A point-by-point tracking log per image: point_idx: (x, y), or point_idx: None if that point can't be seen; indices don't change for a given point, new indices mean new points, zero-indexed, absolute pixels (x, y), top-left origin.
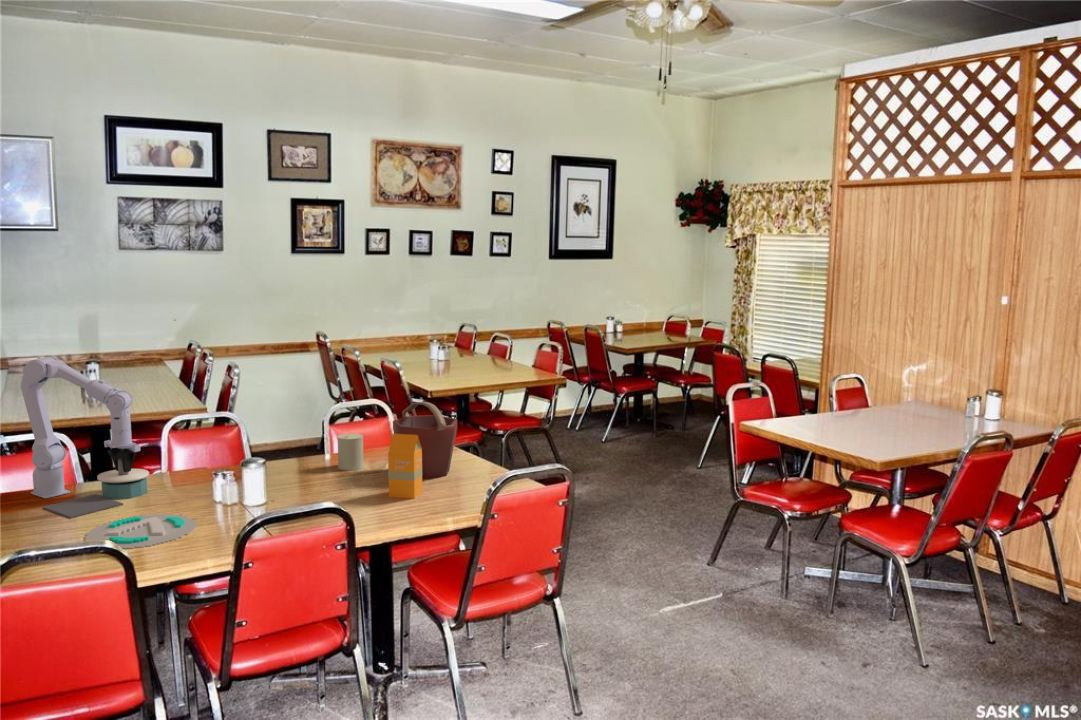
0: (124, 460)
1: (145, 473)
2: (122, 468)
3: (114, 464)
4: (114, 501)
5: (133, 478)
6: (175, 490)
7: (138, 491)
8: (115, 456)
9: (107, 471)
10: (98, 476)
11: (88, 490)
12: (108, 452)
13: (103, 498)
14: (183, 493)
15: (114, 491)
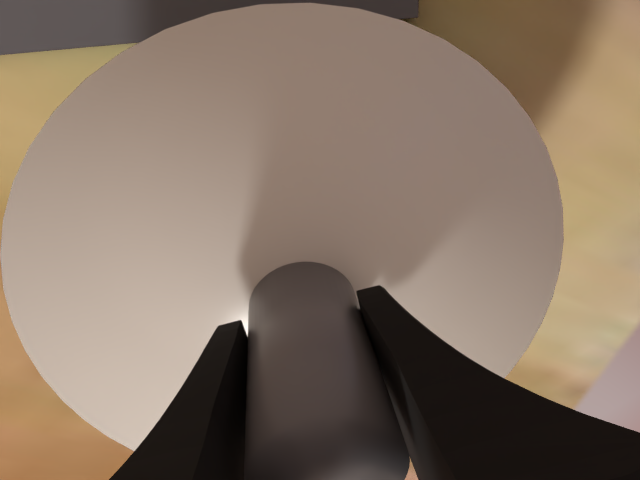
0: (120, 470)
1: None
2: (255, 342)
3: (409, 322)
4: (35, 32)
5: (13, 316)
6: (115, 446)
7: None
8: (428, 448)
9: (558, 237)
10: (427, 51)
11: (609, 55)
12: (602, 450)
13: (219, 4)
14: (8, 456)
15: None
